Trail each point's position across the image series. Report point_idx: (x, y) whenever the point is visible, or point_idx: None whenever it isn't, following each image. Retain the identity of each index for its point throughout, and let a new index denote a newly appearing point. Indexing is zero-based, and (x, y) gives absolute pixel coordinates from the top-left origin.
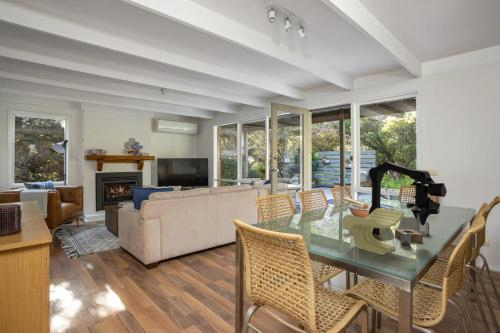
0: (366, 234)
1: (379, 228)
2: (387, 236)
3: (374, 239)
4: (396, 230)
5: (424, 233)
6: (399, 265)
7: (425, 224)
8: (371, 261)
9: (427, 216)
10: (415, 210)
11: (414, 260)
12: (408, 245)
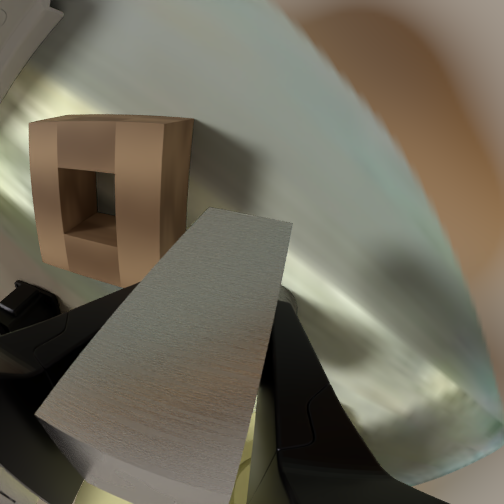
0: (245, 488)
1: (26, 302)
2: (90, 288)
3: (246, 450)
4: (62, 266)
5: (46, 17)
6: (459, 443)
7: (280, 278)
8: (399, 477)
9: (367, 465)
10: (48, 501)
11: (465, 397)
12: (296, 314)
